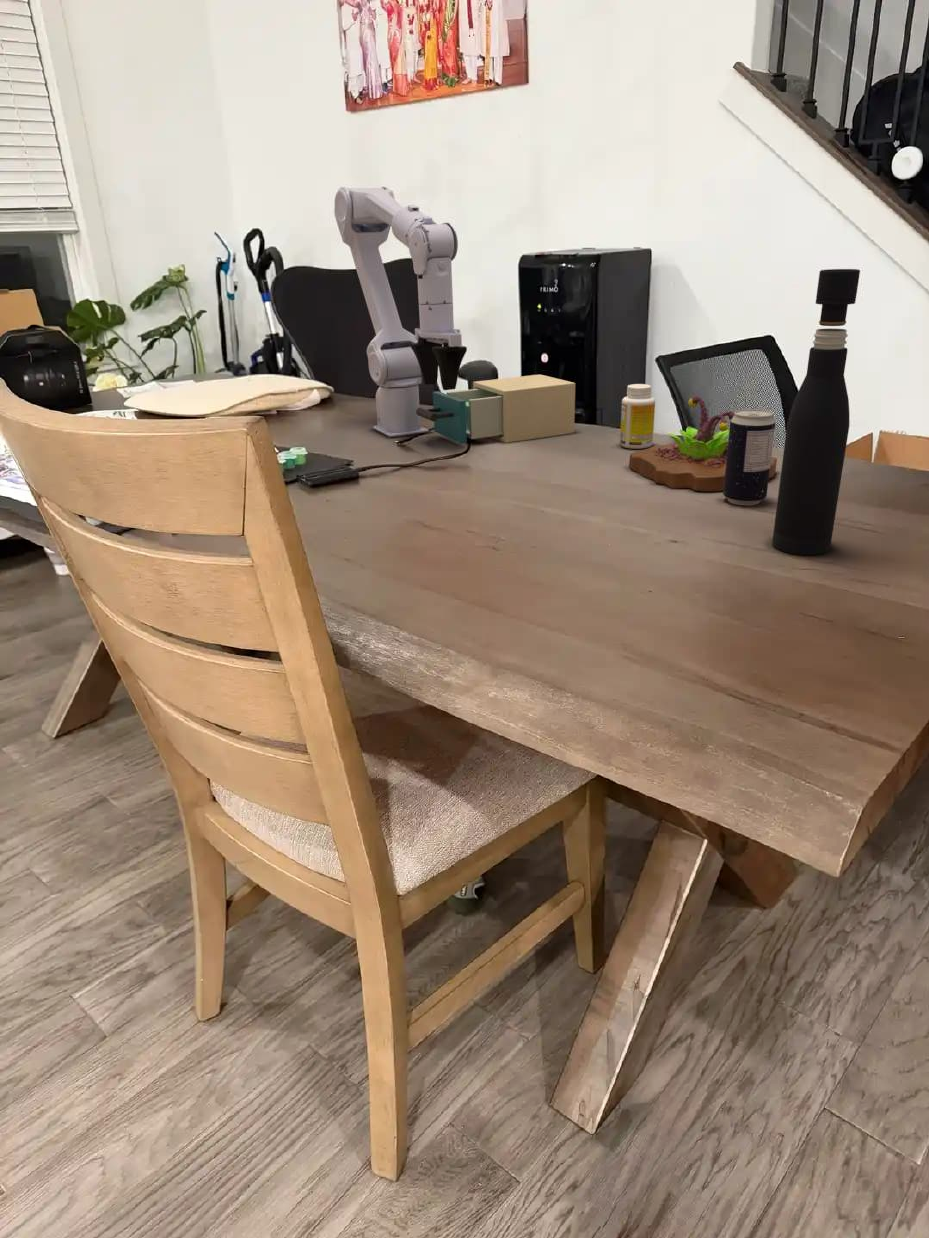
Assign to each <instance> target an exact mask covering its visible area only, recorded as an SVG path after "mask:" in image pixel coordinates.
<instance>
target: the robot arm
mask: <svg viewBox="0 0 929 1238" xmlns="http://www.w3.org/2000/svg"><path fill="white" fill-rule="evenodd" d="M333 209H334V210H333V211H334V212H333V213H334V218H335V222H336V224H337V227H338V231H339V235H340V236H341V240H342V243H343V244H345V245H347V246H348V247H349V249H350V253H351V257H352V259H353V263H354V267H355V269H356V273H357V276H358V279H359V283H360V287H361V289H362V293H363V296H364V299H365V303H366V306H367V310H368V313H369V316H370V320H371V323H372V326H373V329H374V333H375V335H374V337H373V339H371V340H370V342H369V344H368V345H367V347H366V356H367V360H368V361H367V362H368V370H369V375H370V377H371V379H372V380H373V382H374V383H375V384H376V386H379V387H378V388H377V390H376V393H375V406H376V419H377V420H376V421H377V425H373V430H375V431H377V432H379V433H381V434H383V435H386V437H387V436H388V437H389V438H395V437H403V436H404V437H405V436H409V435H417V434H425V433H429V432H430V431H429V428H426V427H424V426H421V416H419V415H417V414H416V410H417V409H418V408H421V407H420V395H419V394H420V392H419V391H420V390H419V385H420V384H422V383H424V385H425V386H426V385H435V384H438V376H440V383H441V388H442V390H443V391H450V390H452V391H453V390H456V388H457V383H458V377H459V372H460V369H461V365H462V362H463V359H464V357H465V355H466V353H467V351H468V346H464V345H463V341H462V333H461V329H460V328H455V323H454V295H453V294H454V293H453V270H452V269H453V268H452V266H453V265H452V262H453V261H454V260H455V258H456V256H457V254H458V249H459V240H458V234H457V231H456V230H455V228H454V226H453V225H452V224H451V223H450V222H443V223H437V222H436V221H434V219H433V218H432V217H431V216H430V215H426V214H424V213H423V212H421V211H420V207H419V206H418V205H416V204H408V205H406V206H403V205H402V204H400V203H399V202H398V201H397V200H396V197H395V193H394V190H392V189H390V188H389V187H388V186H381V187H345V186H341V187H339V188H338V189H337V192H336V194H335V196H334V207H333ZM390 231H391V232H392V234H393V236H394V238H395V239H397V241H399V242H400V243H401V244H403V245H404V246H405V247H407V249H408V251H409V255H410V258H411V260H412V265H413V271H414V274H415V275H417V276H416V279H417V293H418V294H417V295H418V313H419V327H416V328H414V334H413V333H412V332H410V331H408V330H407V329H405V328H404V327H403V325H402V321H401V319H400V315H399V311H398V307H397V306H396V305H397V304H396V302H395V299H394V295H393V292H392V289H391V286H390V283H389V278H388V275H387V272H386V268H385V266H384V263H383V259H382V256H381V252H380V248H379V247H380V246H382V244H384V243H386V242H387V241H388V238H389V234H390ZM422 380H423V381H422Z"/></svg>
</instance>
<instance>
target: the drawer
mask: <svg viewBox="0 0 929 1238" xmlns="http://www.w3.org/2000/svg"><path fill="white" fill-rule="evenodd" d="M466 402H469V427H470V431H468V430H466ZM416 414H417V415H419V416H420V418H424V419H426V420H428V421H431V422H433V429H434V433H435V434H438V435H442V436H443V437H445V438H448V439H450V440H452V441H454V442H456V443H459V444H466V443H467V442H468V439H471V440H476V439H484V438H492V437H491V436H498V435H503V395H500V394H497V393H494V392H491V391H487V390H484V389H481V388H480V389H473V388H472V389H464V390H453V391H447V392H446V393H444V392H441V391H432V408H426V409H425V408H422V407H420V408H418V409H417V410H416Z"/></svg>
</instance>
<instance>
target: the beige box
mask: <svg viewBox="0 0 929 1238" xmlns="http://www.w3.org/2000/svg"><path fill="white" fill-rule="evenodd" d="M480 388H481V389H484V390H487V391H491V392H494V393H497V394H500V395H503V435H498V436H491V437H490V438H492V439H495V440H498V441H500V442H502V443H505V444H506V443H515V442H521V441H528V440H535V439H542V438H549V437H556V436H561V435H562V436H563V435H570V434H574V433H575V419H576V416H575V415H576V414H575V411H576V383H575V382H574V381H573V382H572V381H570V380H569V381H568V380H565V379H560V378H556V377H552V376H548V375H544V374H531V375H523V376H514V377H512V376H511V377H504V378H495V379H486V380H477V381H473V382H472V389H480Z"/></svg>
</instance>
